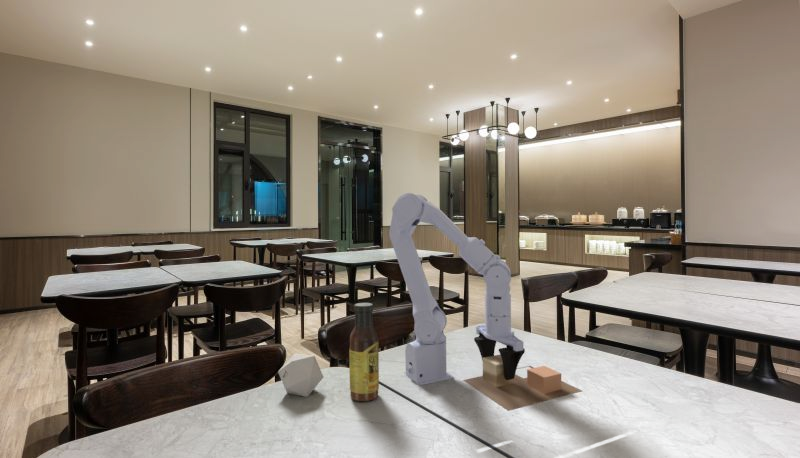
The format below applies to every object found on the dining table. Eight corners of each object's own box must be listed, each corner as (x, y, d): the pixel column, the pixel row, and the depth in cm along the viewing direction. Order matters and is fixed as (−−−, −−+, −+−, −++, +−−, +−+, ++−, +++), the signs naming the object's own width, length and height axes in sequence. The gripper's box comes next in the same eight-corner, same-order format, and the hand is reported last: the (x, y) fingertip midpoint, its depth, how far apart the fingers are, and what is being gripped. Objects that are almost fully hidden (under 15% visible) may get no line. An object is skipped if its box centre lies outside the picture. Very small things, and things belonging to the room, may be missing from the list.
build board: (508, 412, 78) (508, 409, 78) (462, 381, 92) (462, 379, 92) (582, 392, 86) (582, 390, 86) (529, 367, 101) (529, 365, 101)
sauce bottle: (374, 404, 82) (373, 308, 81) (345, 402, 83) (344, 307, 82) (382, 390, 88) (381, 301, 88) (355, 388, 90) (353, 300, 89)
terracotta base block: (543, 393, 85) (543, 377, 85) (527, 384, 89) (527, 369, 89) (561, 389, 87) (561, 373, 87) (544, 380, 91) (544, 365, 91)
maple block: (496, 387, 88) (496, 365, 88) (482, 379, 93) (482, 357, 93) (514, 383, 90) (514, 361, 90) (500, 375, 95) (500, 354, 95)
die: (285, 387, 92) (266, 362, 87) (318, 362, 96) (302, 337, 90) (299, 413, 86) (280, 388, 80) (334, 386, 89) (318, 360, 84)
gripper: (534, 319, 86) (534, 381, 87) (492, 305, 99) (493, 359, 100) (508, 323, 83) (508, 387, 84) (468, 309, 96) (469, 364, 97)
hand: (498, 372), depth 92 cm, fingers open, 7 cm apart
